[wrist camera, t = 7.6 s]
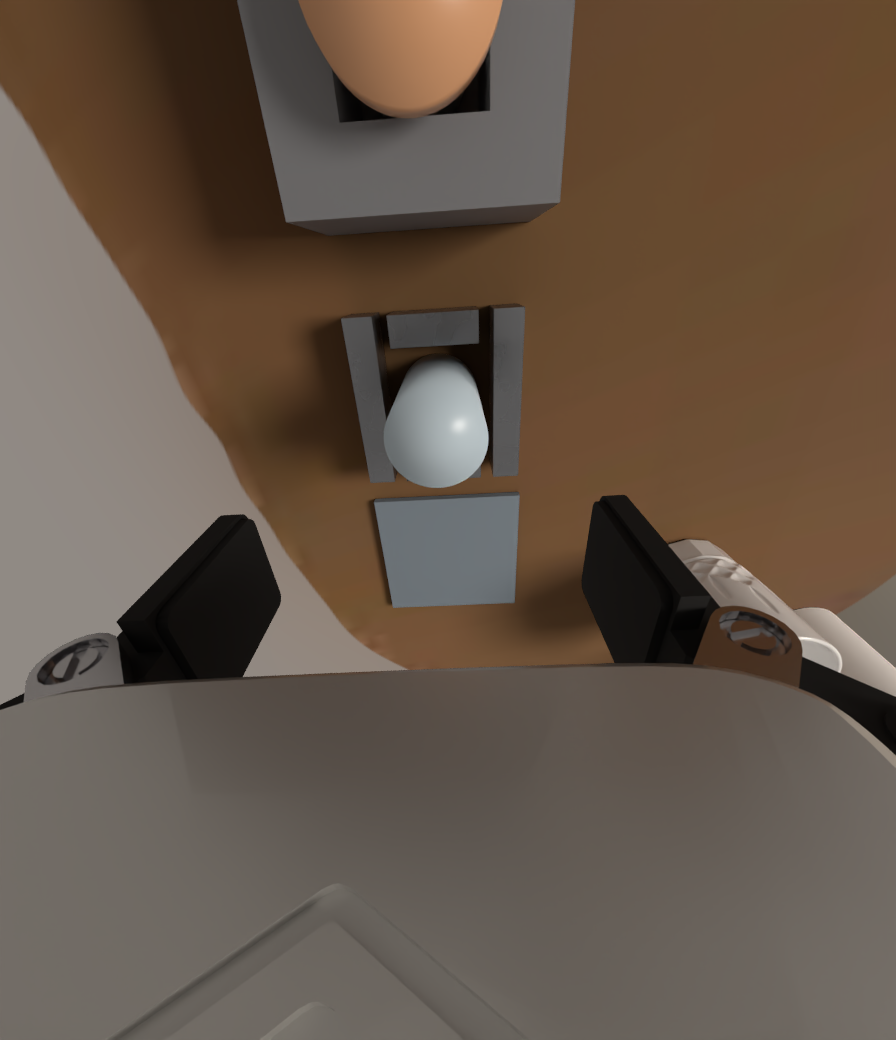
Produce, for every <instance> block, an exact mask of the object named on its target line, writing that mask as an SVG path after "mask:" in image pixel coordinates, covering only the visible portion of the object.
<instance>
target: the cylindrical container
mask: <svg viewBox="0 0 896 1040" xmlns="http://www.w3.org/2000/svg"><path fill="white" fill-rule="evenodd" d="M793 611H794V612H795V613H797V614H798V615H799V616H800V617H801V618H802V619H803V620H804V621H805V622H807V623H808V624H809V625H810V626H811V627H812V628H813V629H815V630H816V631H817V632H818V633H819V634H820V635H821V636H822V637H824V638H825V639H826V640H827V641H828V642H829V643H830V644H831V645H833V646H834V647H835V648H836V649H837V650H838V652H839V653H840V655H841V658H842V669H841V672H840V673H842V674H844V675H846V676H849V677H851V678H853V679H856V680H858V681H860V682H863V683H865V684H867V685H870V686H872V687H874V688H876V689H879V690H881V691H883V692H886V693H888V694H890V695H893V696H895V697H896V668H895V667H894V666H893V665H891V664H890V663H889V662H888V661H887V660H886V659H885V658H884V657H882V656H881V655H880V654H879V653H878V652H877V651H876V650H874V649H873V648H872V647H871V646H870V645H868V643H866V642H865V641H864V640H863V639H862V638H861V637H860V636H859V635H857V634H856V633H855V632H854V631H853V630H852V629H851V628H849V627H848V626H847V625H846V624H845V623H844V622H842V621H841V620H840V619H839V618H838V617H837V616H836V615H835V614H833V613H832V612H831V611H829V610H826V609H822V608H811V607H810V608H801V609H797V610H793Z"/></svg>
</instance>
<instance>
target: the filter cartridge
mask: <svg viewBox="0 0 896 1040" xmlns="http://www.w3.org/2000/svg"><path fill="white" fill-rule="evenodd" d="M488 439H489V438H488V429H487V425H486V421H485V417H484V413H483V409H482V405H481V401H480V397H479V393H478V389H477V385H476V381H475V378H474V376H473V374H472V372H471V370H470V369H469V368H468V366H467V365H466V364H465V363H464V362H462V361H461V360H460V359H458V358H456V357H454V356H452V355H448V354H443V353H435V354H430V355H427V356H424V357H422V358H420V359H419V360H417V361H416V362H415V363H414V364H413V365H412V366H411V367H410V369H409V370H408V371H407V373H406V375H405V378H404V380H403V382H402V385H401V387H400V390H399V392H398V394H397V397H396V399H395V401H394V404H393V406H392V409H391V411H390V413H389V416H388V418H387V421H386V424H385V428H384V446H385V450H386V453H387V456H388V458H389V460H390V462H391V463H392V465H393V466H394V468H395V469H396V470H397V471H398V472H399V473H400V474H401V475H402V476H404V477H405V478H406V479H408V480H410V481H412V482H413V483H416V484H418V485H421V486H425V487H432V488H442V487H448V486H453V485H455V484H458V483H460V482H462V481H464V480H466V479H467V478H469V477H470V476H471V475H472V474H473V473H474V472H475V471H476V470H477V469H478V468H479V466H480V465H481V463H482V462H483V460H484V458H485V455H486V452H487V448H488Z"/></svg>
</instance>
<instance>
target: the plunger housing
mask: <svg viewBox="0 0 896 1040" xmlns="http://www.w3.org/2000/svg"><path fill="white" fill-rule="evenodd" d="M237 2H238V7H239V11H240V16H241V20H242V25H243V29H244V34H245V38H246V43H247V48H248V52H249V57H250V61H251V66H252V70H253V75H254V79H255V84H256V88H257V93H258V97H259V102H260V106H261V111H262V115H263V120H264V124H265V129H266V133H267V138H268V142H269V147H270V152H271V156H272V161H273V165H274V170H275V174H276V179H277V183H278V188H279V192H280V197H281V201H282V206H283V210H284V215H285V219H286V222H287V223H290V224H293V225H296V226H300V227H303V228H306V229H309V230H312V231H315V232H318V233H322V234H325V235H328V236H332V235H346V234H360V233H374V232H388V231H402V230H417V229H431V228H445V227H459V226H473V225H487V224H502V223H516V222H530V221H532V220H533V219H535V218H537V217H538V216H540V215H541V214H543V213H544V212H546V211H547V210H549V209H550V208H552V207H554V206H555V205H557V204H558V203H560V193H561V180H562V166H563V153H564V140H565V126H566V113H567V100H568V86H569V73H570V59H571V46H572V33H573V19H574V6H575V0H503V1H502V6H501V11H500V15H499V20H498V24H497V28H496V31H495V34H494V37H493V40H492V44H491V46H490V48H489V51H488V53H487V55H486V58H485V60H484V62H483V64H482V65H481V67H480V69H479V71H478V72H477V74H476V76H475V77H474V79H473V80H472V81H471V83H470V84H469V85H468V87H467V88H466V89H465V90H464V92H463V95H462V99H461V101H460V103H459V106H458V108H457V110H456V111H455V113H454V114H444V115H431V116H424V117H418V118H393V119H385V118H384V117H383V115H382V114H381V113H380V112H378V111H376V110H374V109H372V108H371V107H369V106H367V105H366V104H364V103H363V102H362V101H360V100H359V99H358V98H357V97H355V96H354V95H353V94H352V93H351V92H350V91H349V90H348V89H347V88H346V87H345V86H344V84H343V83H342V82H341V80H340V79H339V78H338V77H337V75H336V74H335V73H334V71H333V70H332V68H331V66H330V65H329V63H328V62H327V60H326V58H325V57H324V55H323V53H322V51H321V50H320V48H319V46H318V44H317V42H316V41H315V39H314V37H313V35H312V33H311V31H310V29H309V27H308V25H307V22H306V20H305V17H304V15H303V12H302V9H301V7H300V4H299V1H298V0H237Z"/></svg>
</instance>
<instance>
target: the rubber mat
mask: <svg viewBox="0 0 896 1040" xmlns="http://www.w3.org/2000/svg"><path fill="white" fill-rule="evenodd" d="M374 505H375V510H376V516H377V521H378V527H379V532H380V538H381V543H382V549H383V555H384V560H385V566H386V571H387V577H388V582H389V588H390V593H391V599H392V604H393V608H397V607H422V606H446V605H471V604H496V603H515V581H516V560H517V538H518V516H519V492H507V493H487V494H466V495H446V496H426V497H405V498H385V499H375V501H374Z"/></svg>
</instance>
